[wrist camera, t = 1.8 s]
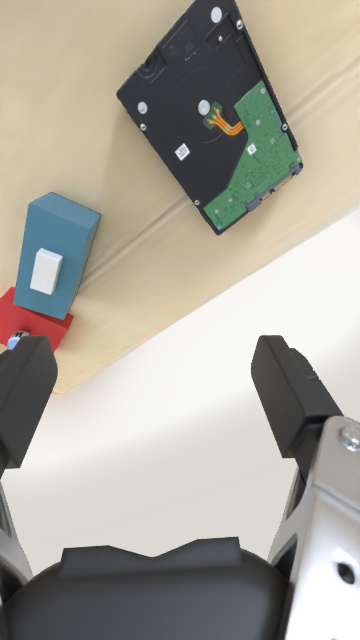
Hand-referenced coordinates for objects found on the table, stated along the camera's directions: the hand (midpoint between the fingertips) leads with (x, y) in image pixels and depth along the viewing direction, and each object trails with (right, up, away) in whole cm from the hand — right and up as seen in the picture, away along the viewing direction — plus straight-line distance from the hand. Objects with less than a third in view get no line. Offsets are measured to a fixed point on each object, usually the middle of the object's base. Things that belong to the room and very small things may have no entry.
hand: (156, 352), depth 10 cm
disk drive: (+4, +19, +15) cm, 24 cm away
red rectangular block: (-19, +1, +25) cm, 32 cm away
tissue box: (-12, +9, +20) cm, 25 cm away
